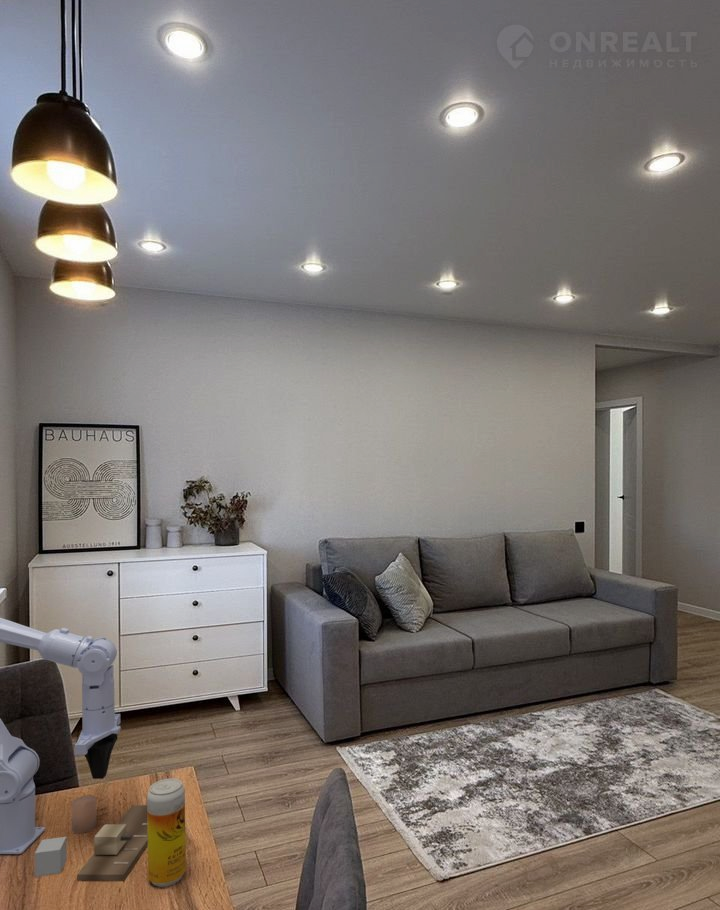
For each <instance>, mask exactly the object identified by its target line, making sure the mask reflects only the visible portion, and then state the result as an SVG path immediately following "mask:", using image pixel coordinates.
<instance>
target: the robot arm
mask: <svg viewBox="0 0 720 910" xmlns="http://www.w3.org/2000/svg"><path fill="white" fill-rule="evenodd" d="M0 643H3V644H8V645H11V646H17V647H21V648H25V649H30V650H34V651H38V653H39V655H40V657H41V659H43V660H45V661H50V662H53V663H56V664H61V665H64V666H67V667H71V668H74V669H75V668H77V669H78V671H79V673H81V675H82V678H81V679H82V682H81V683H82V684H81V697H82V698H81V702H82V703H81V706H82V708H81V709H82V710H81V711H82V712H81V713H82V715H81V717H82V720H81V721H82V729H81V732H80V734H79V736H78V739H77V742H76V743H75V744H74V756H84V757H85V759H86V762H87V764H88V767H89V771H90V774H91V777H92V779H93V780H98V779H99V780H101V779H104V778H105V777H106V776H107V774H108V770H109V763H110V759H111V755H112V752H113V749H114V746H115V745H116V742H117V741H118V733H119V732H120V731H121V730H122V729H121V725H120V724H121V713H115V677H114V665H113V663H114V661H115V660H116V657H117V654H118V653H117V651H118V649H117V647H116V645H115V643H114V642H112V640H109V639H107V638H106V637H97V638H95V639H94V636H92V635H87V637H85V636H82V635H79V634H76V633H75V634H74V633H71V632H70V629H69V628H66V627H61V628H60V629H57V628H55V629H53V630H51V631H48V632H44V631H41V630H39V629H35V628H32V627H29V626H26V625H23V624H20V623H17V622H14V621H11V620H10V619H5V618H3V617H0ZM40 762H41V761H40V757H39V754H38V753H37V752H36V751H35V750H34V749H33V748H30V747H29V746H27V744H26V743H25V742H24V741H23V739H22V738H20V737H16V736H13V735H12V734H11V733H10V732H9V730H8V728H7V726H6V725H5V724H4V722H3V719H1V717H0V855H20V854H21V855H22V854H23V853H24V852H25V851H26V850H27V849H28V848H29V847H30V846H31V845H32V844H33V843H34V842H35V841H36V839H37V838H39V837H40V836H41V834H43V833H44V832H45V830H46V827H44V826H36V784H35V782H34V775H35V774H36V773H37V772H38V769H39V767H40Z"/></svg>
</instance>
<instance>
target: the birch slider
mask: <svg viewBox="0 0 720 910" xmlns="http://www.w3.org/2000/svg"><path fill="white" fill-rule="evenodd" d="M93 839H94V842H93V843H94V845H93V847H94V848H93V849H94V852H93V854H94V855H117V853H118V852H119V851H120V849H121V848H122V847H123V845H124V844H125V843H126V841H130V840H131V839H132V835H126V824H118V823H117V824H116V823H115V824H109V823H108V824H107V823H106V824H104V825H103V826H102V827H100V829H99V831H98V832H97V833H96V834H95V835H94V838H93Z"/></svg>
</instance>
